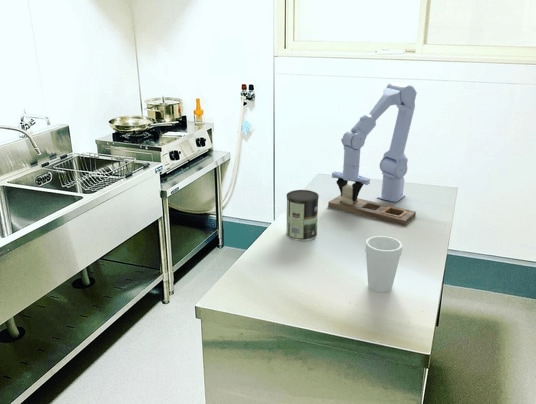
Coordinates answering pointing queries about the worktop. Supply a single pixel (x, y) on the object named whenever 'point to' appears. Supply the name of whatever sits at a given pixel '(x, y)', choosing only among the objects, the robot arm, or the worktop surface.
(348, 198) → the peg
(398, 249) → the foam cup
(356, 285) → the worktop surface
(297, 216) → the coffee can
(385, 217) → the brown slotted board
